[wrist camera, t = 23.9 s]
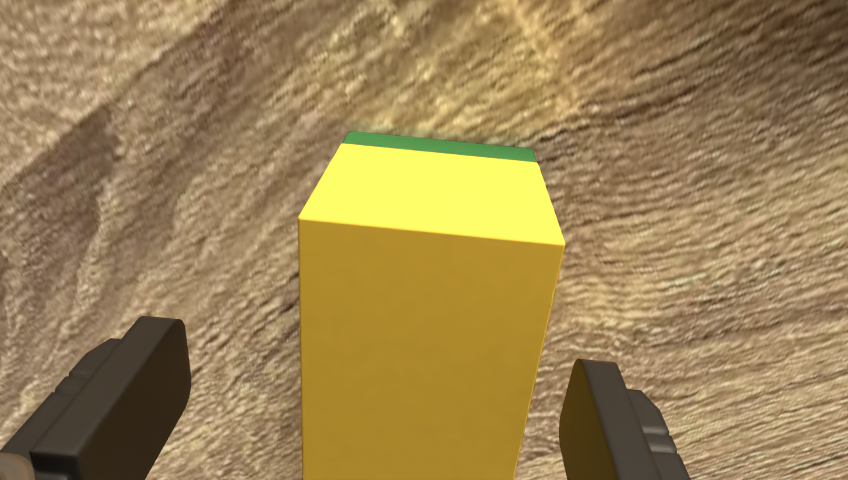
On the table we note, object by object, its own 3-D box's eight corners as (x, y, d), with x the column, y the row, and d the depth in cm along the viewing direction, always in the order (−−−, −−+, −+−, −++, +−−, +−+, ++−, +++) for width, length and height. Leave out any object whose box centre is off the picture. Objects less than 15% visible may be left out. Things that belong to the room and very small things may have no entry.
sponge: (342, 358, 17) (302, 501, 13) (348, 129, 14) (297, 216, 10) (493, 373, 17) (504, 523, 13) (533, 147, 14) (566, 243, 10)
